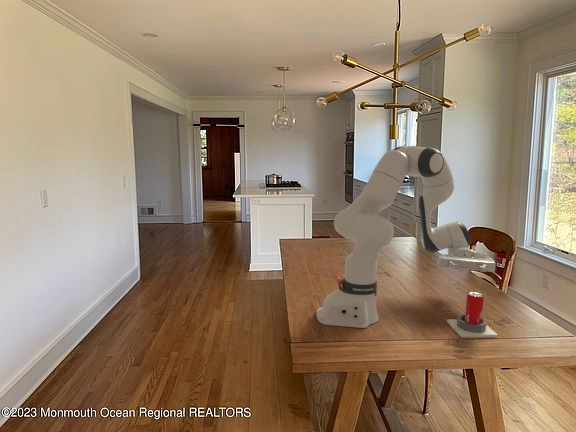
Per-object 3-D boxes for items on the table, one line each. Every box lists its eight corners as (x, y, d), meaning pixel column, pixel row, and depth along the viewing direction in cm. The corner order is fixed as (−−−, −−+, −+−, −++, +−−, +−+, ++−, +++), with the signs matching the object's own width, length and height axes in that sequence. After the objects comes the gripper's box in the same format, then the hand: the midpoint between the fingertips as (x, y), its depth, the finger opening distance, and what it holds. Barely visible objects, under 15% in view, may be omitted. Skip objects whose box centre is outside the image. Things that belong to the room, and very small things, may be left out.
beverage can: (467, 323, 147) (470, 290, 145) (483, 327, 144) (486, 294, 142) (462, 327, 144) (464, 294, 142) (477, 332, 140) (480, 298, 138)
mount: (461, 337, 139) (462, 327, 138) (446, 322, 150) (447, 312, 150) (497, 337, 139) (498, 327, 138) (480, 322, 151) (480, 312, 150)
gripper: (435, 248, 168) (439, 257, 155) (491, 253, 163) (499, 262, 150) (434, 264, 169) (437, 273, 156) (489, 269, 164) (497, 279, 151)
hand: (468, 268), depth 153 cm, fingers open, 8 cm apart
